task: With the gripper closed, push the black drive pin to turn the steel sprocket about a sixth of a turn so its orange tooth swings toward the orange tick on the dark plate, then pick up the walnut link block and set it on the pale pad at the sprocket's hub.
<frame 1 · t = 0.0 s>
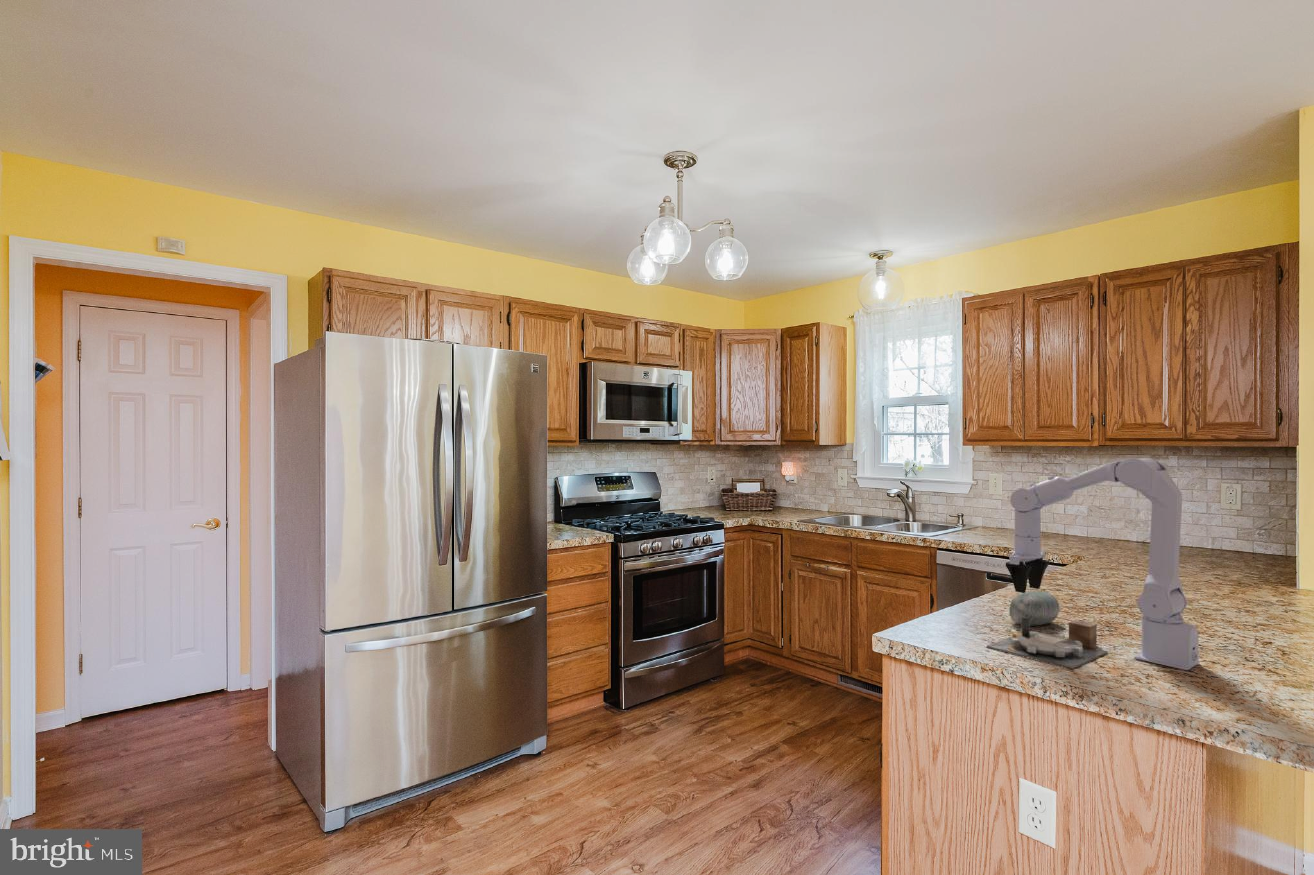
hand: (1027, 590, 166), 10 cm above the counter, tool pointing down, fingers open, 7 cm apart
link block: (1082, 644, 154), on the counter
spool: (1034, 624, 172), on the counter
plate: (1046, 650, 150), on the counter
sprocket: (1046, 634, 150), point 4 cm above the counter, hinge at 0.0°
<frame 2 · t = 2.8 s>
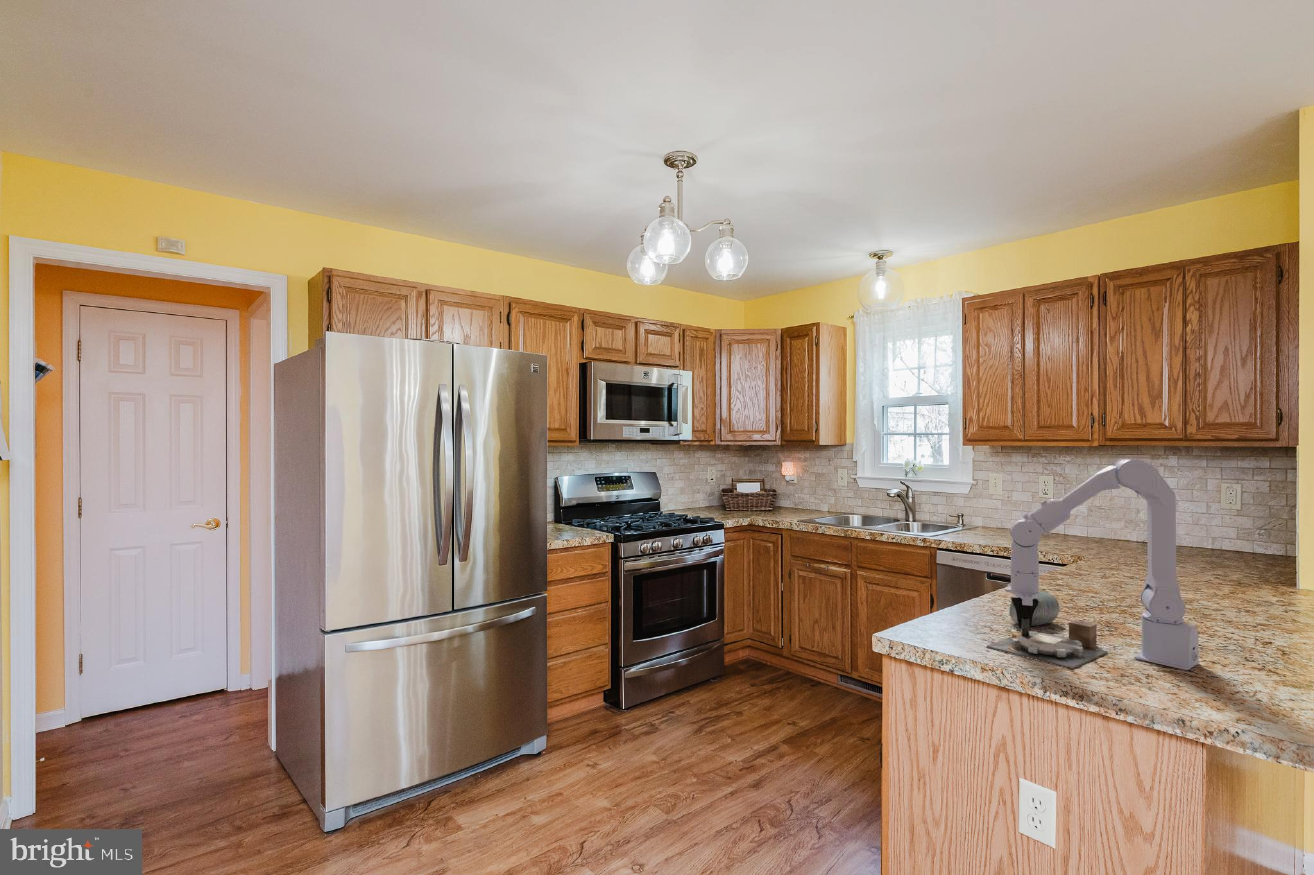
hand: (1024, 629, 155), 3 cm above the counter, tool pointing down, fingers closed, pressing on sprocket
sprocket: (1046, 634, 150), point 4 cm above the counter, hinge at 2.0°, touching gripper
everything else where it was.
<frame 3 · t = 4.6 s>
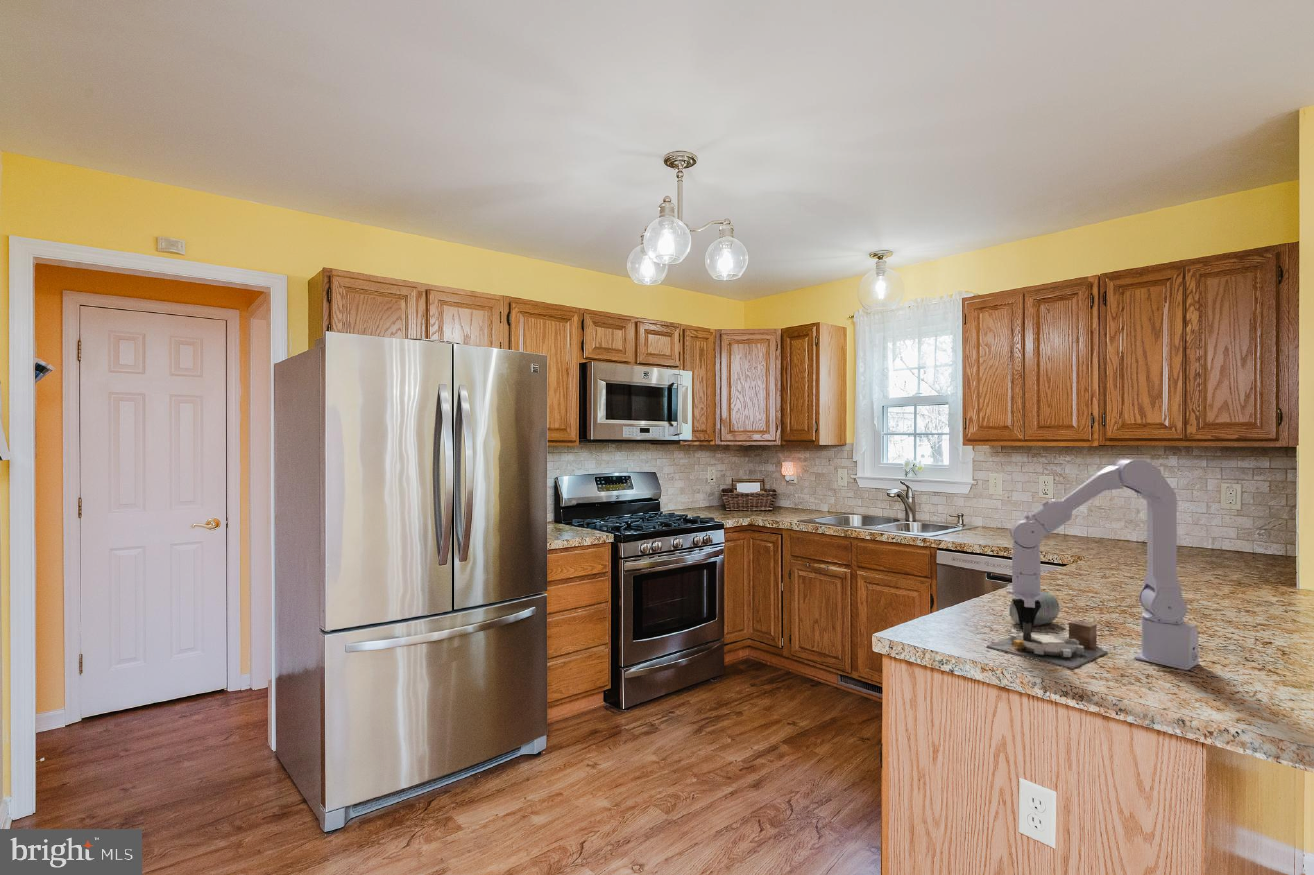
hand: (1026, 631, 153), 3 cm above the counter, tool pointing down, fingers closed
sprocket: (1046, 634, 150), point 4 cm above the counter, hinge at 57.1°
everything else where it was.
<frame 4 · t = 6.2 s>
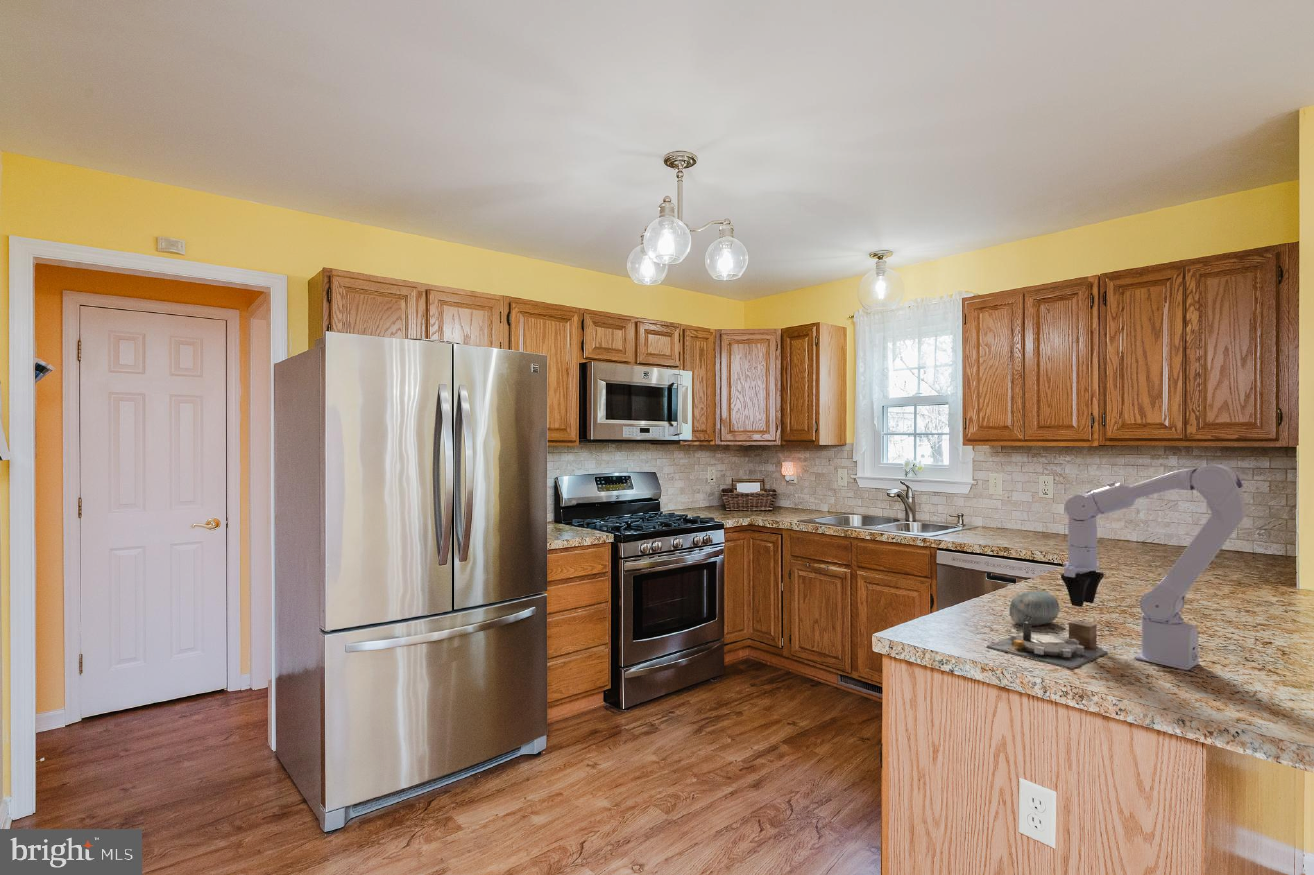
hand: (1082, 604, 154), 9 cm above the counter, tool pointing down, fingers open, 5 cm apart
nothing on the counter moved.
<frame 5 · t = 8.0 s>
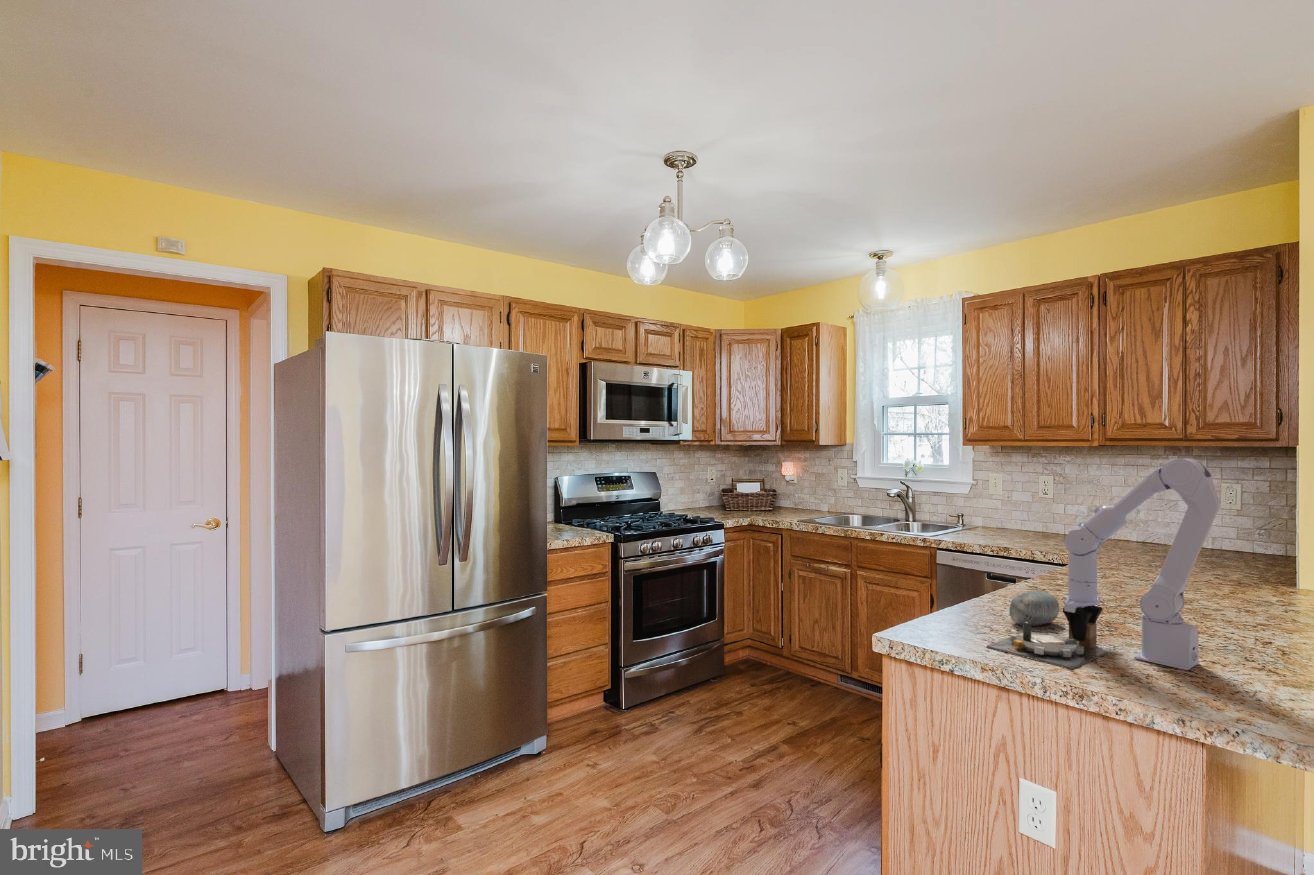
hand: (1082, 638, 154), 1 cm above the counter, tool pointing down, fingers closed on link block, 3 cm apart
link block: (1082, 644, 154), on the counter, touching gripper
everything else where it was.
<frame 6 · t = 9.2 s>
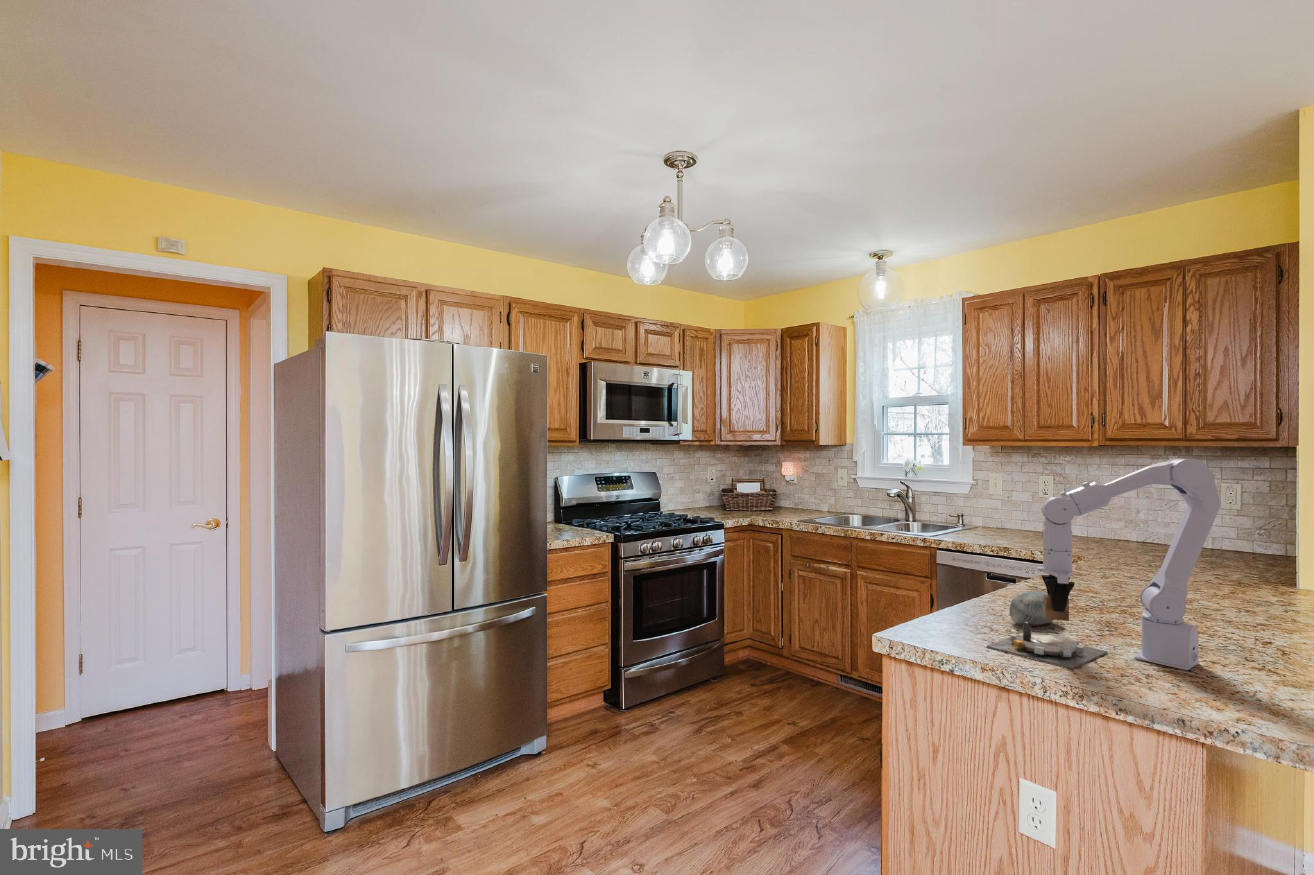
hand: (1057, 609, 151), 9 cm above the counter, tool pointing down, fingers closed on link block, 3 cm apart
link block: (1056, 618, 151), point 7 cm above the counter, touching gripper
everything else where it was.
when the fingers open (4 cm above the counter, at t = 10.7 s): link block stays where it is, resting on sprocket.
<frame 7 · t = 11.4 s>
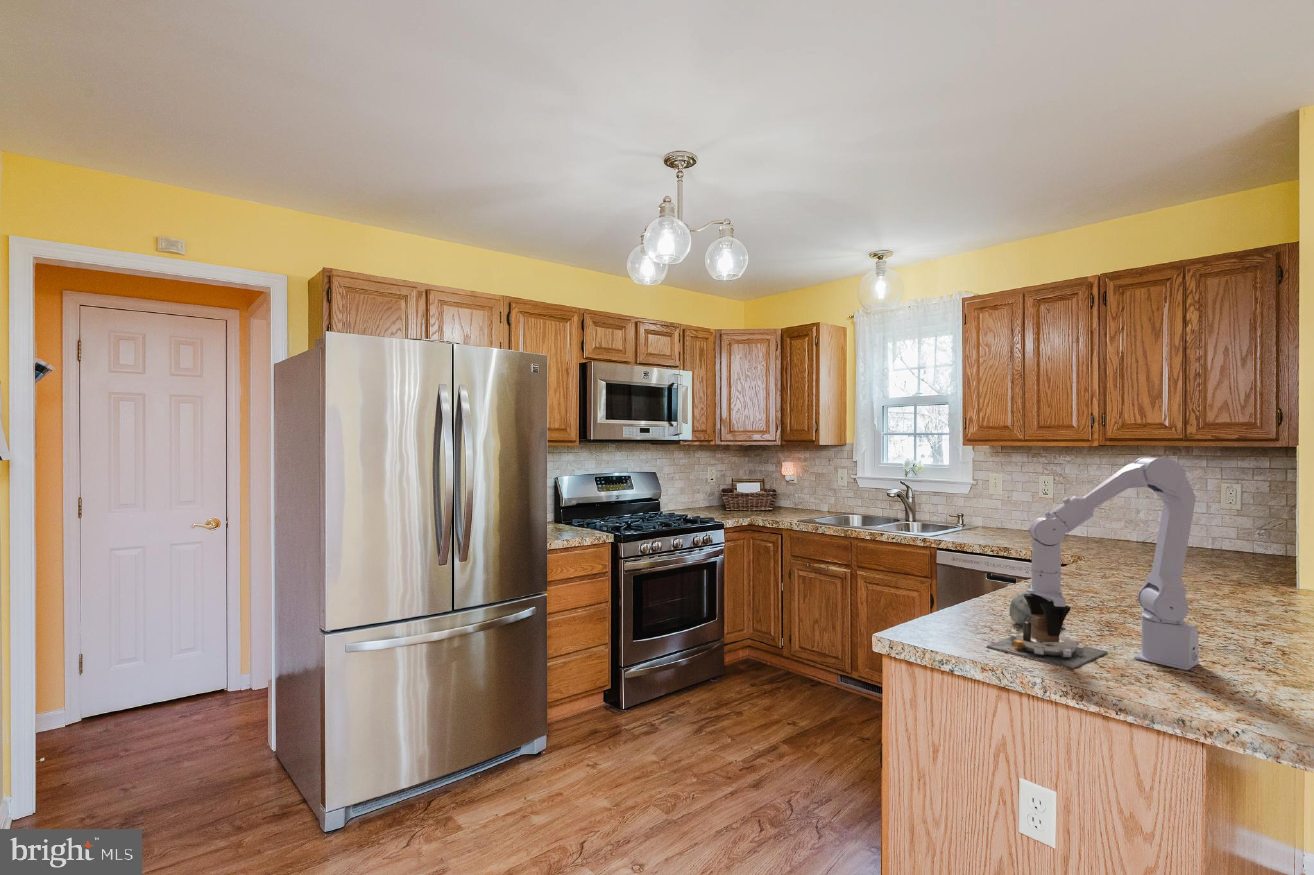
hand: (1046, 630, 150), 4 cm above the counter, tool pointing down, fingers open, 7 cm apart
link block: (1045, 638, 150), point 3 cm above the counter, touching sprocket
sprocket: (1046, 634, 150), point 4 cm above the counter, hinge at 57.1°, touching link block
everything else where it was.
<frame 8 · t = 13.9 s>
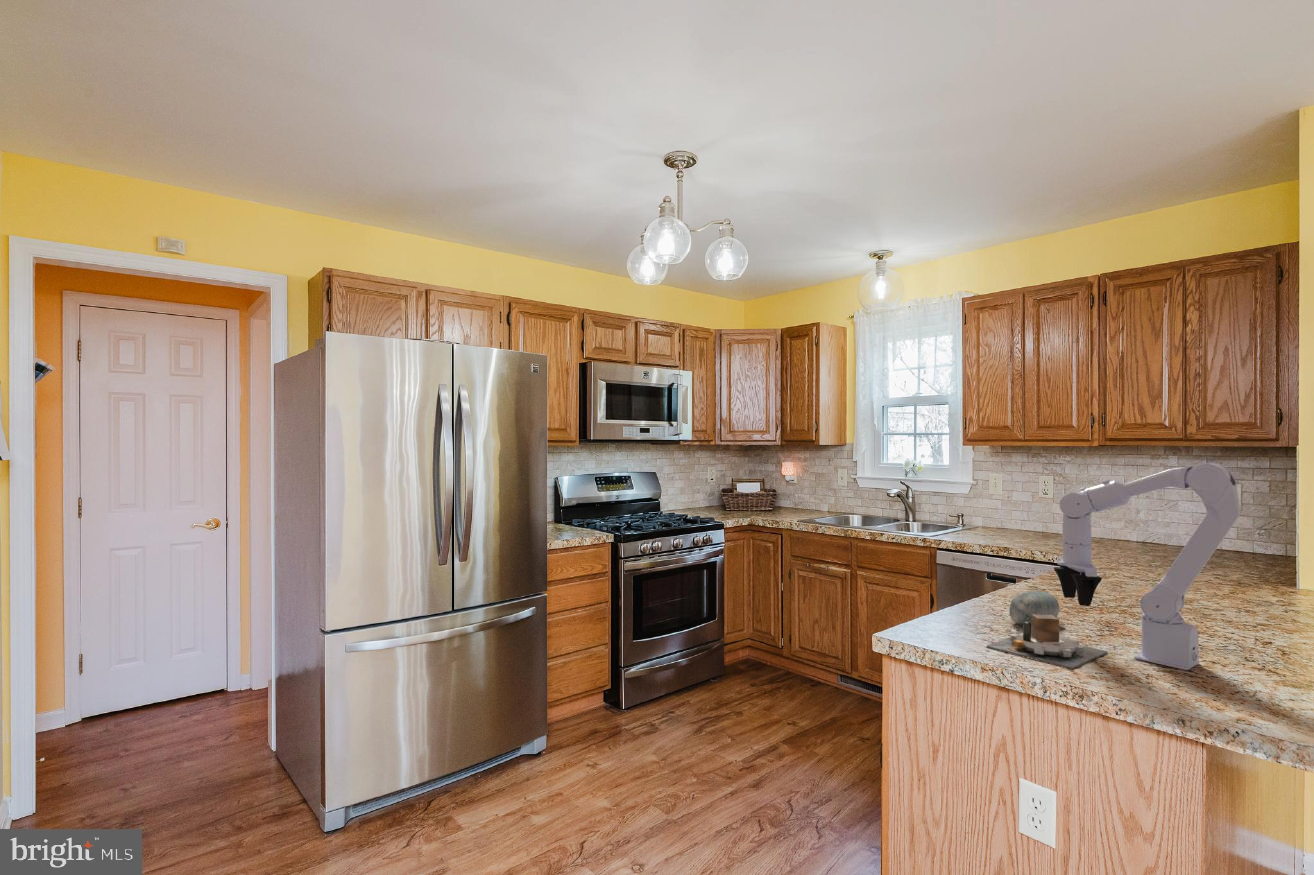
hand: (1076, 601, 155), 10 cm above the counter, tool pointing down, fingers open, 7 cm apart
nothing on the counter moved.
at the end: sprocket at +57° (first picture: +0°); link block 0.3 cm off-centre on the sprocket, point 2.6 cm above the sprocket's base; link block tilted 0° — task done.
